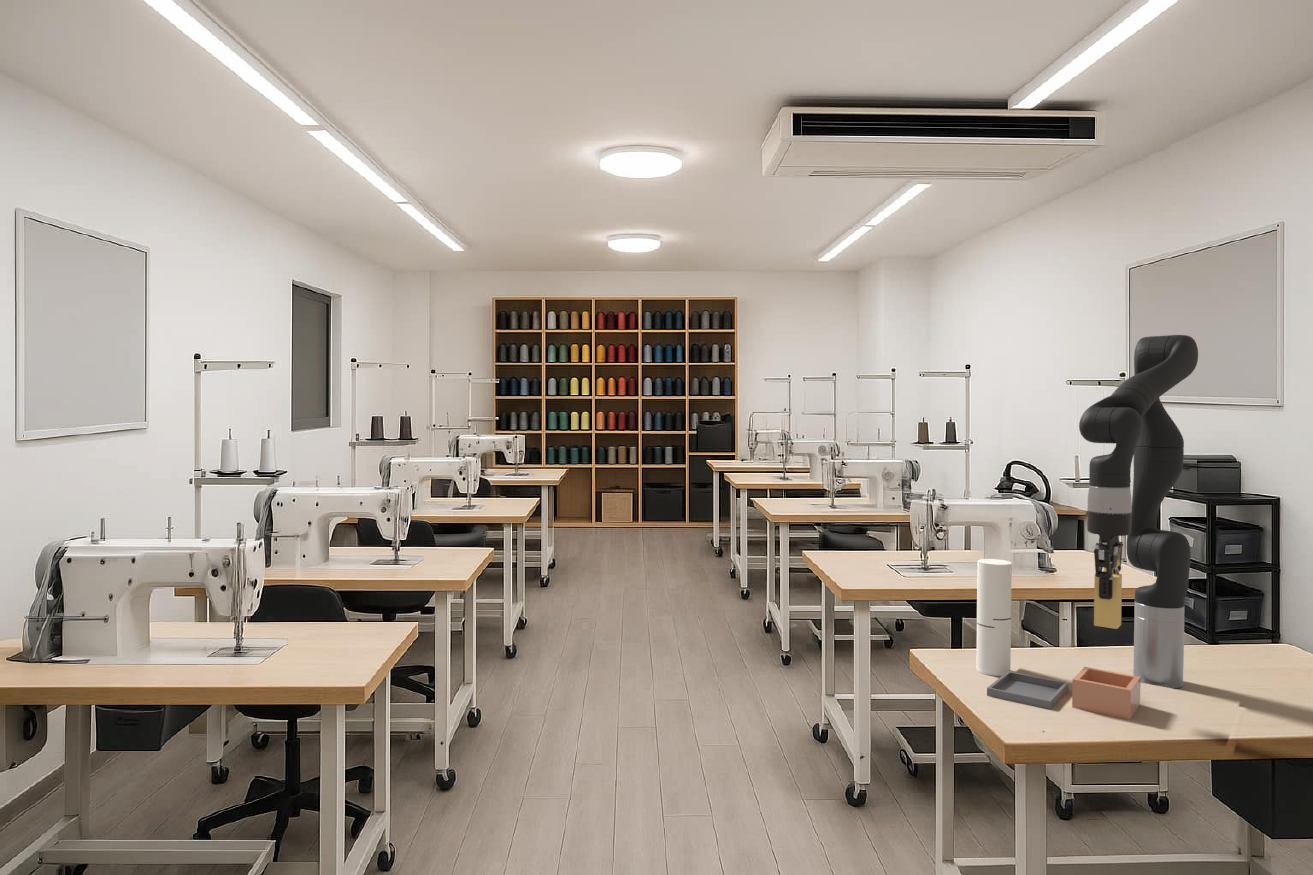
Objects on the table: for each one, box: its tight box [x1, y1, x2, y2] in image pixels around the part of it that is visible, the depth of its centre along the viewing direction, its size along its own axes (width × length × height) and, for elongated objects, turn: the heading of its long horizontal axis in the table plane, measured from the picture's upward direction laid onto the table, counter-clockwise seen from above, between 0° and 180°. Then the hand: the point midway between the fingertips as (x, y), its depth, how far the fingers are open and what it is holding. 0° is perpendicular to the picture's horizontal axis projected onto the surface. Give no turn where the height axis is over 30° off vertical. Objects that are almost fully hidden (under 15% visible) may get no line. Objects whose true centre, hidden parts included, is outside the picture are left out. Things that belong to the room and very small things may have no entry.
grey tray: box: [986, 670, 1069, 710], centre depth 166 cm, size 14×12×2 cm
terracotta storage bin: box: [1071, 666, 1142, 720], centre depth 159 cm, size 10×10×6 cm
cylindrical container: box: [975, 558, 1013, 677], centre depth 183 cm, size 7×7×25 cm
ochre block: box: [1093, 573, 1123, 630], centre depth 158 cm, size 4×4×10 cm
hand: (1108, 596), depth 158 cm, fingers closed on ochre block, 4 cm apart
